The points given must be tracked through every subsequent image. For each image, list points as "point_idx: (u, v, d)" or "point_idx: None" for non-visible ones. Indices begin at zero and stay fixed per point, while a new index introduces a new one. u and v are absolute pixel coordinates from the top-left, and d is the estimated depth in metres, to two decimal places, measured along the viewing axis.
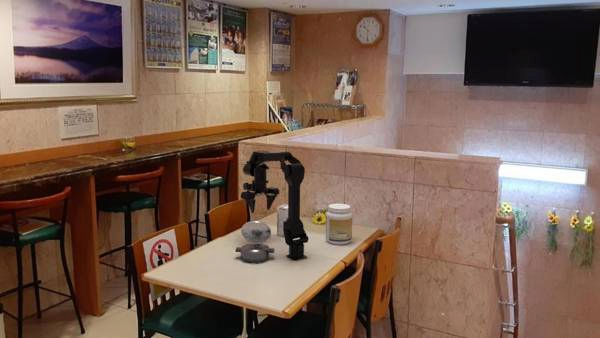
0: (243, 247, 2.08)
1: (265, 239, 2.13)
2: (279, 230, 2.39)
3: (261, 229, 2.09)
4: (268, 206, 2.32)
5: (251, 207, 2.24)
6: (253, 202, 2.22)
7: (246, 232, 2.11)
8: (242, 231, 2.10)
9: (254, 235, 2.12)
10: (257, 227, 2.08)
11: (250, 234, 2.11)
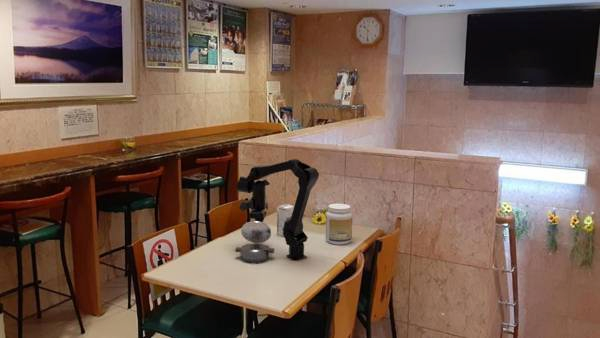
0: (243, 247, 2.08)
1: (265, 239, 2.13)
2: (279, 230, 2.39)
3: (261, 229, 2.09)
4: None
5: None
6: (264, 217, 2.17)
7: (246, 232, 2.11)
8: (242, 231, 2.10)
9: (254, 235, 2.12)
10: (257, 227, 2.08)
11: (250, 234, 2.11)
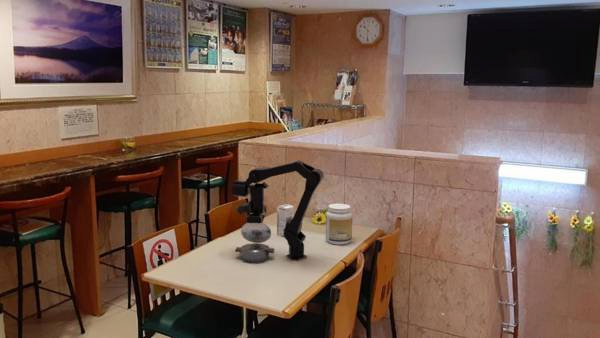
0: (243, 247, 2.08)
1: (265, 239, 2.13)
2: (279, 230, 2.39)
3: (261, 229, 2.09)
4: None
5: None
6: (262, 221, 2.11)
7: (246, 232, 2.10)
8: (242, 231, 2.10)
9: (254, 236, 2.12)
10: (257, 227, 2.08)
11: (250, 234, 2.11)
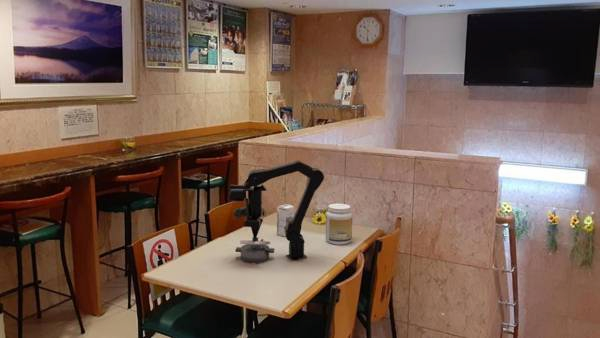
0: (243, 247, 2.08)
1: None
2: (279, 230, 2.39)
3: None
4: None
5: (255, 231, 2.06)
6: (260, 225, 2.05)
7: None
8: None
9: None
10: None
11: None
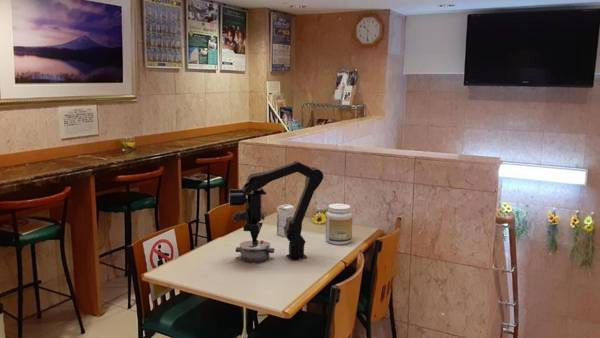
0: None
1: None
2: (279, 230, 2.39)
3: None
4: None
5: (255, 235, 2.04)
6: None
7: None
8: None
9: None
10: None
11: None
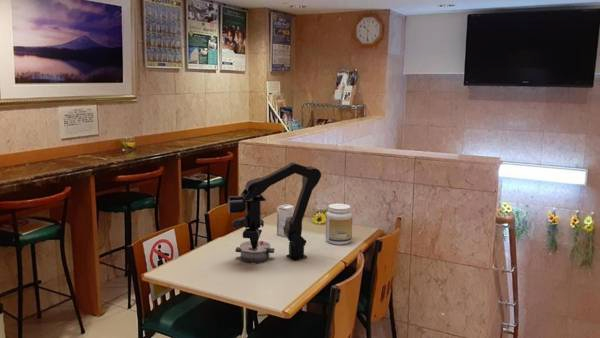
0: None
1: None
2: (279, 230, 2.39)
3: None
4: None
5: (254, 242, 2.03)
6: (259, 236, 2.02)
7: None
8: None
9: None
10: None
11: None
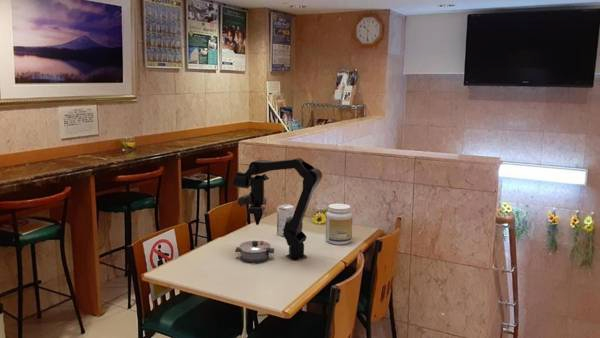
0: None
1: None
2: (279, 230, 2.39)
3: None
4: None
5: (258, 218, 2.14)
6: None
7: None
8: None
9: None
10: None
11: None
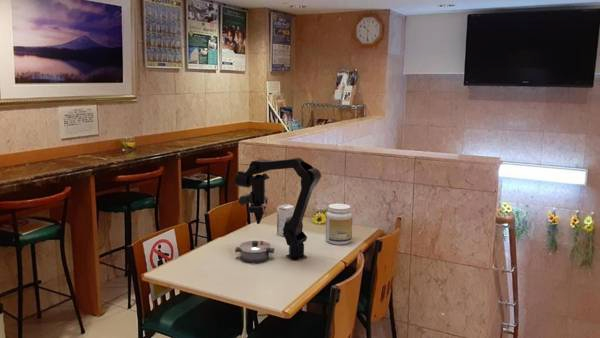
0: None
1: None
2: (279, 230, 2.39)
3: None
4: None
5: (259, 217, 2.15)
6: (263, 212, 2.14)
7: None
8: None
9: None
10: None
11: None
